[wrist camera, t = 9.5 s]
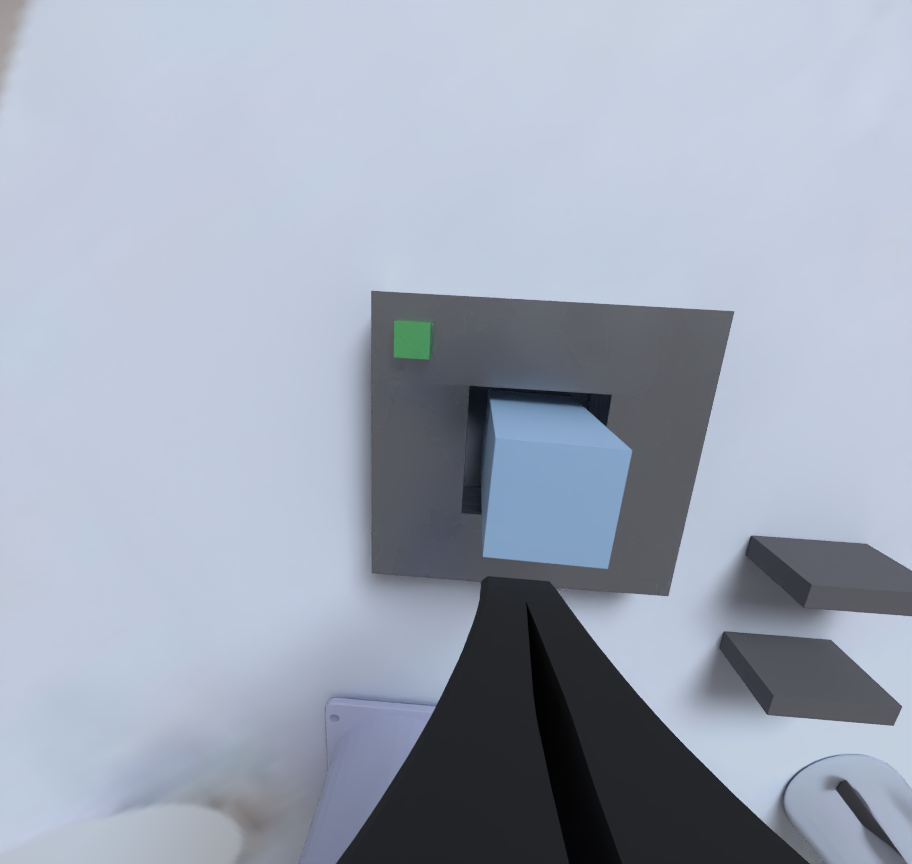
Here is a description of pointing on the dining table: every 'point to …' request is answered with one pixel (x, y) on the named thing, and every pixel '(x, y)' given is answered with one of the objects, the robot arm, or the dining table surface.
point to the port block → (536, 368)
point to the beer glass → (852, 810)
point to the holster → (816, 660)
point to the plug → (549, 481)
